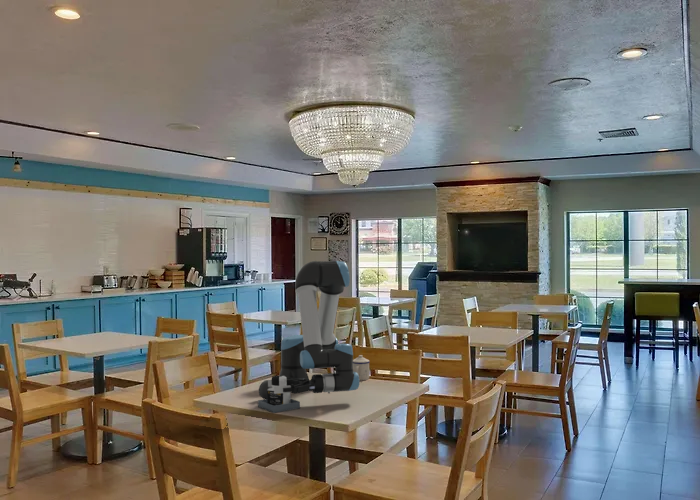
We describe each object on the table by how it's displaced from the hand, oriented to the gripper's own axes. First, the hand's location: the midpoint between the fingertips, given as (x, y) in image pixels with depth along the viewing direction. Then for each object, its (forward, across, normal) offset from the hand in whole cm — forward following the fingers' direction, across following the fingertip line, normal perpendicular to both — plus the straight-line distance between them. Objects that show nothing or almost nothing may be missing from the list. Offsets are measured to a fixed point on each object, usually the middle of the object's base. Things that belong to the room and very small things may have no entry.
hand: (271, 386), depth 244 cm
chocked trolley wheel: (-3, +16, -9) cm, 18 cm away
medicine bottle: (-3, 0, -8) cm, 9 cm away
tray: (-3, 0, -9) cm, 9 cm away
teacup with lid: (-53, +45, -9) cm, 70 cm away
